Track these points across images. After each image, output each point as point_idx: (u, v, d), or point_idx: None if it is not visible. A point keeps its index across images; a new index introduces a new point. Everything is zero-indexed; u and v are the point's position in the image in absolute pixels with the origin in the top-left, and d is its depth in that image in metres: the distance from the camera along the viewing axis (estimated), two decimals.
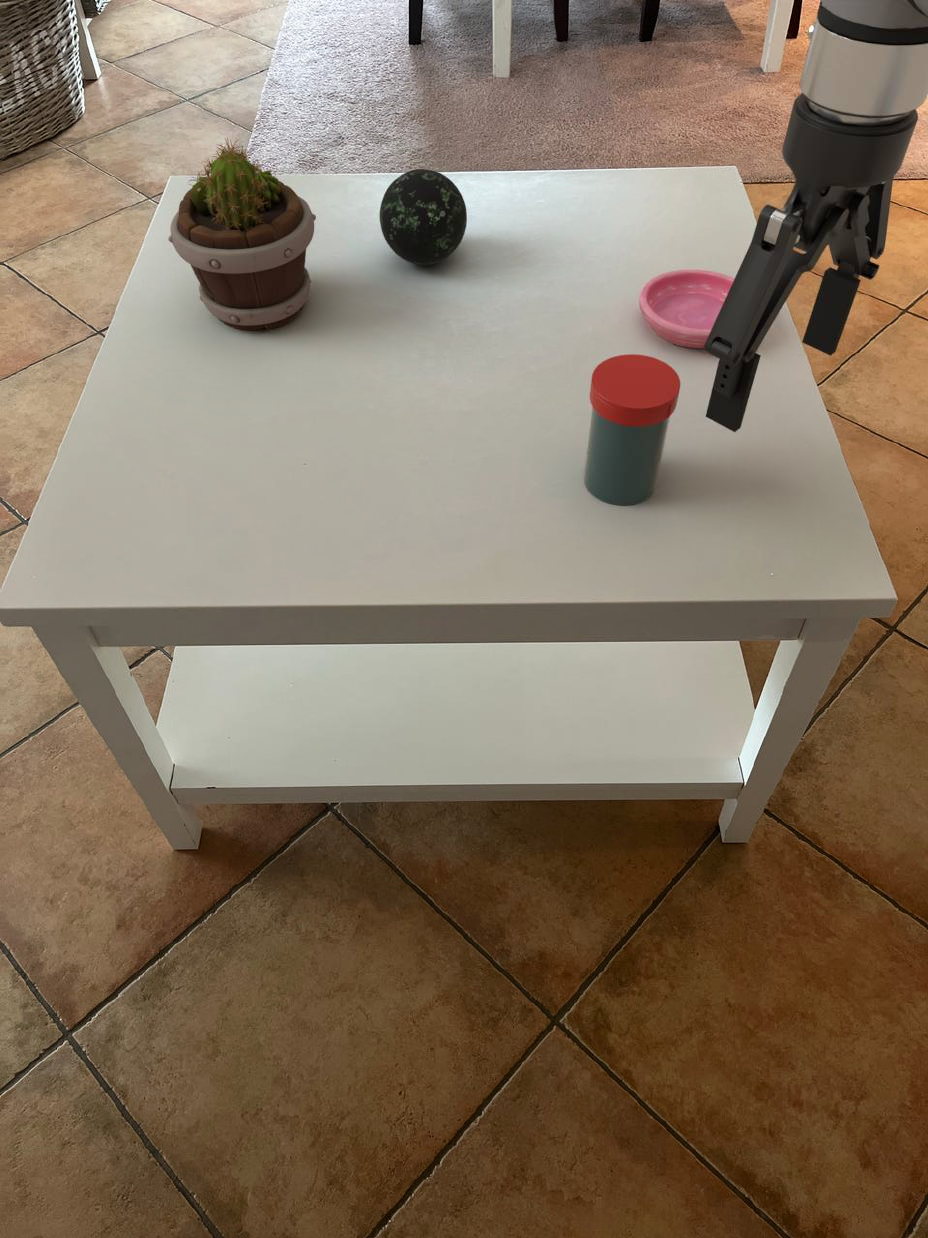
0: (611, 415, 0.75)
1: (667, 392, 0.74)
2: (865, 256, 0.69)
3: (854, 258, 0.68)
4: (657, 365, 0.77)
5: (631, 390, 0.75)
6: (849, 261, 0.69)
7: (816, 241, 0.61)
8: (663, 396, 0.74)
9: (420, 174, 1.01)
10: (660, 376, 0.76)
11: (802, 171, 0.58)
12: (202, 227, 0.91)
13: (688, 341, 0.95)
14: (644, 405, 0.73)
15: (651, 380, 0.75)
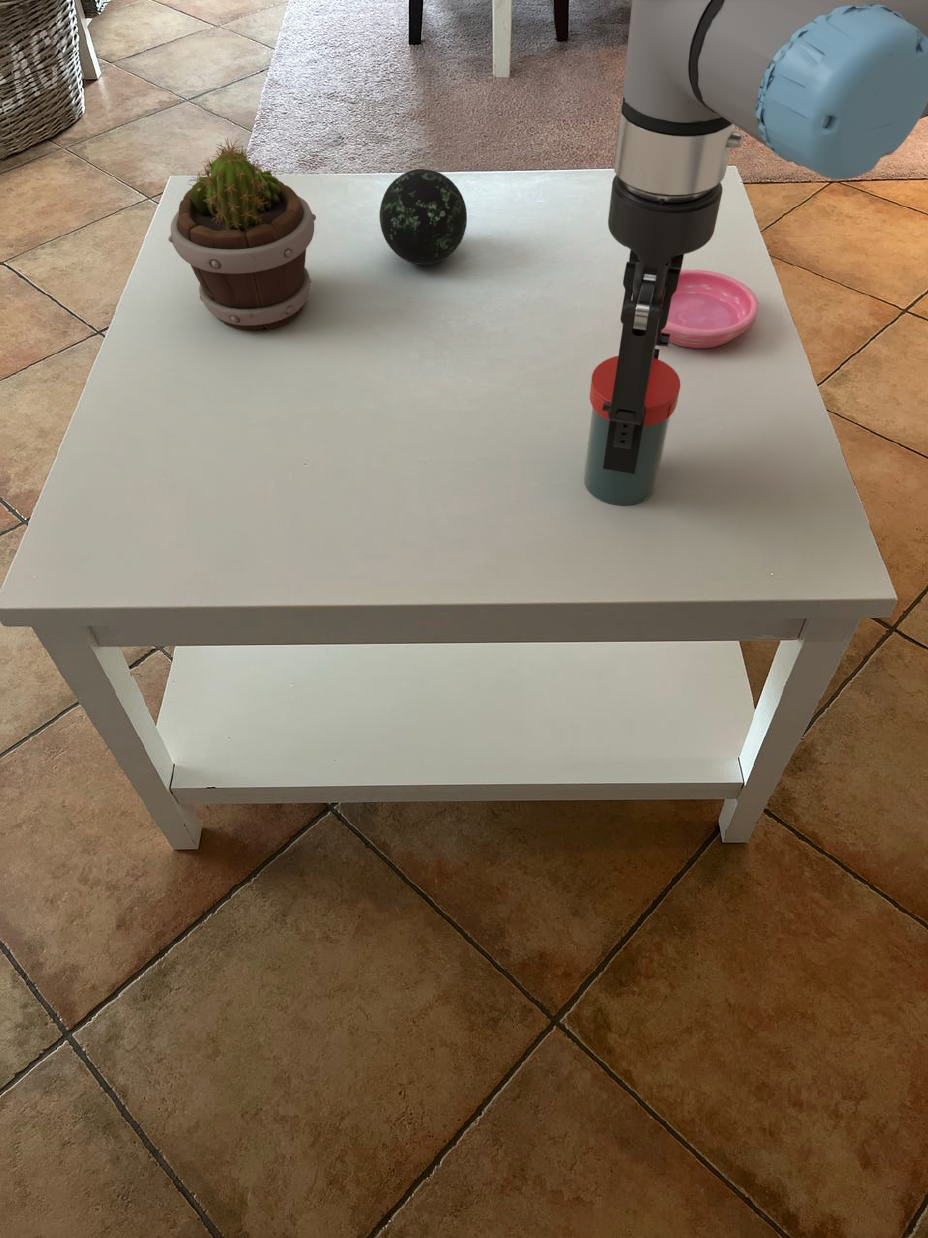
0: None
1: (667, 392, 0.74)
2: None
3: None
4: (657, 365, 0.77)
5: None
6: None
7: None
8: (663, 396, 0.74)
9: (420, 174, 1.01)
10: (660, 376, 0.76)
11: None
12: (202, 227, 0.91)
13: (688, 341, 0.95)
14: None
15: (651, 380, 0.75)
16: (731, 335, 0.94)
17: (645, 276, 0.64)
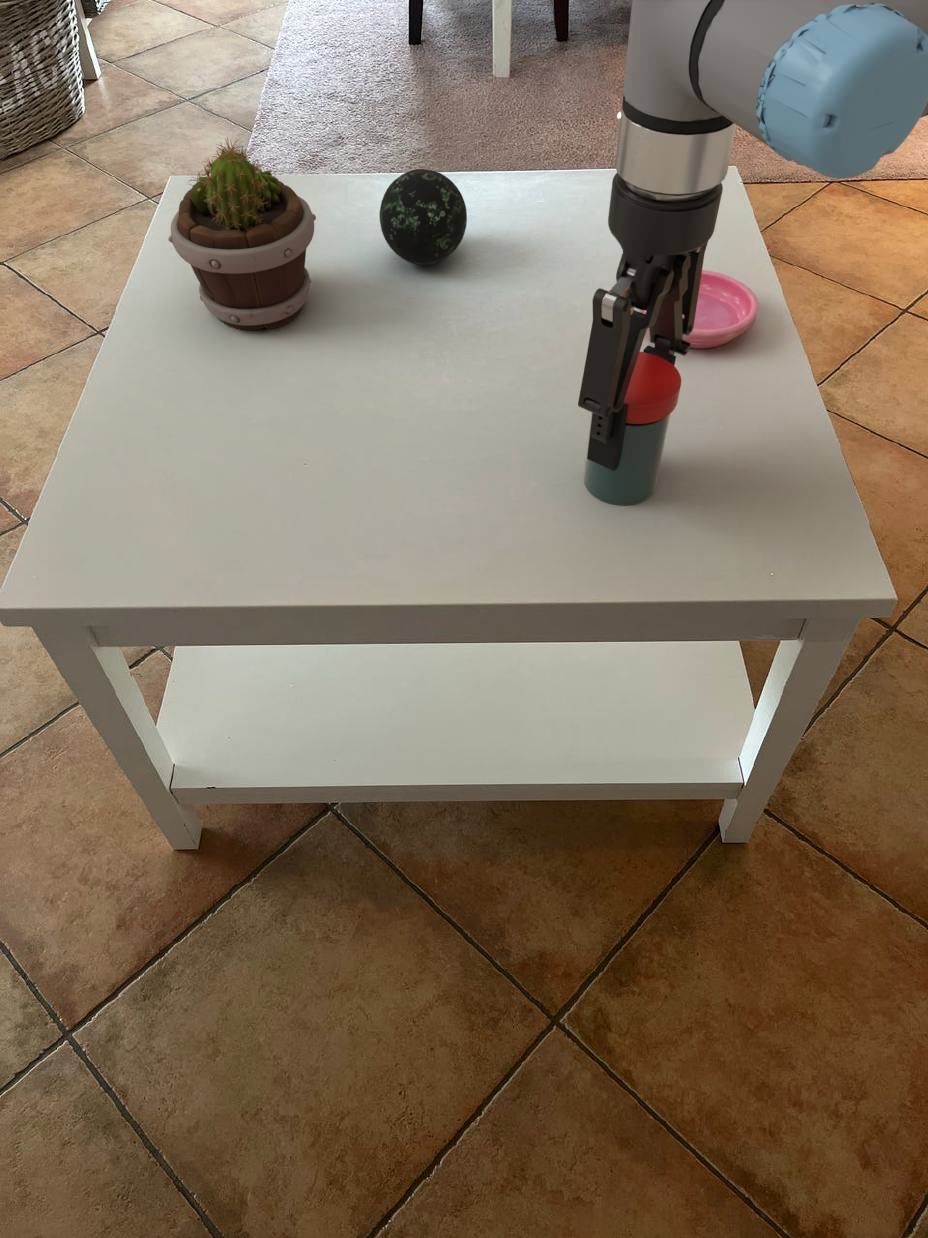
0: None
1: None
2: (680, 331, 0.75)
3: (671, 330, 0.74)
4: None
5: (647, 369, 0.76)
6: (666, 334, 0.75)
7: (650, 305, 0.67)
8: None
9: (420, 174, 1.01)
10: None
11: (627, 242, 0.63)
12: (202, 227, 0.91)
13: (688, 341, 0.95)
14: (643, 354, 0.77)
15: None
16: (731, 335, 0.94)
17: None
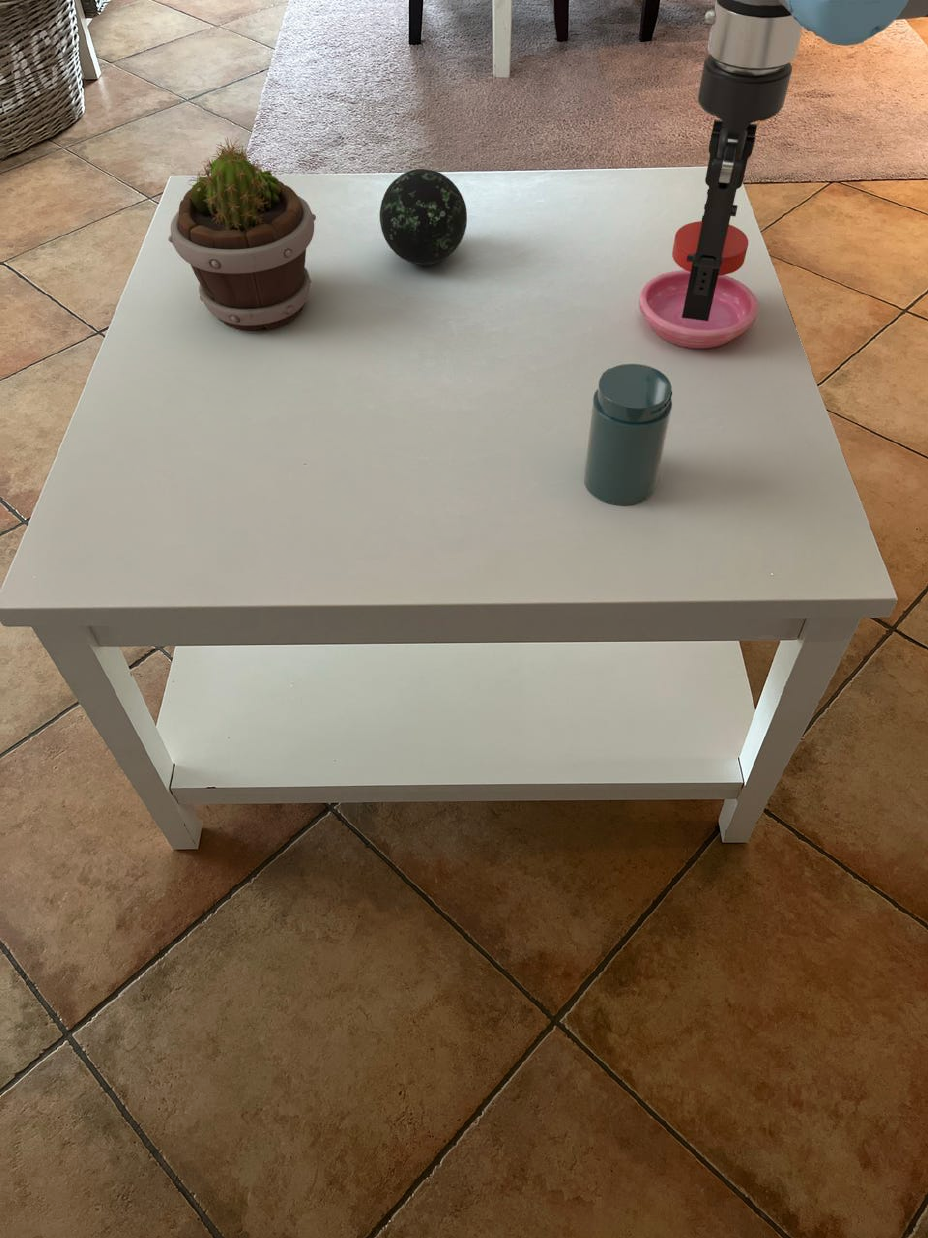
0: None
1: (685, 230, 0.93)
2: None
3: None
4: (694, 249, 0.91)
5: None
6: None
7: None
8: (688, 228, 0.93)
9: (420, 174, 1.01)
10: (691, 241, 0.92)
11: (730, 116, 0.79)
12: (202, 227, 0.91)
13: (688, 341, 0.95)
14: None
15: (698, 239, 0.92)
16: (731, 335, 0.94)
17: None
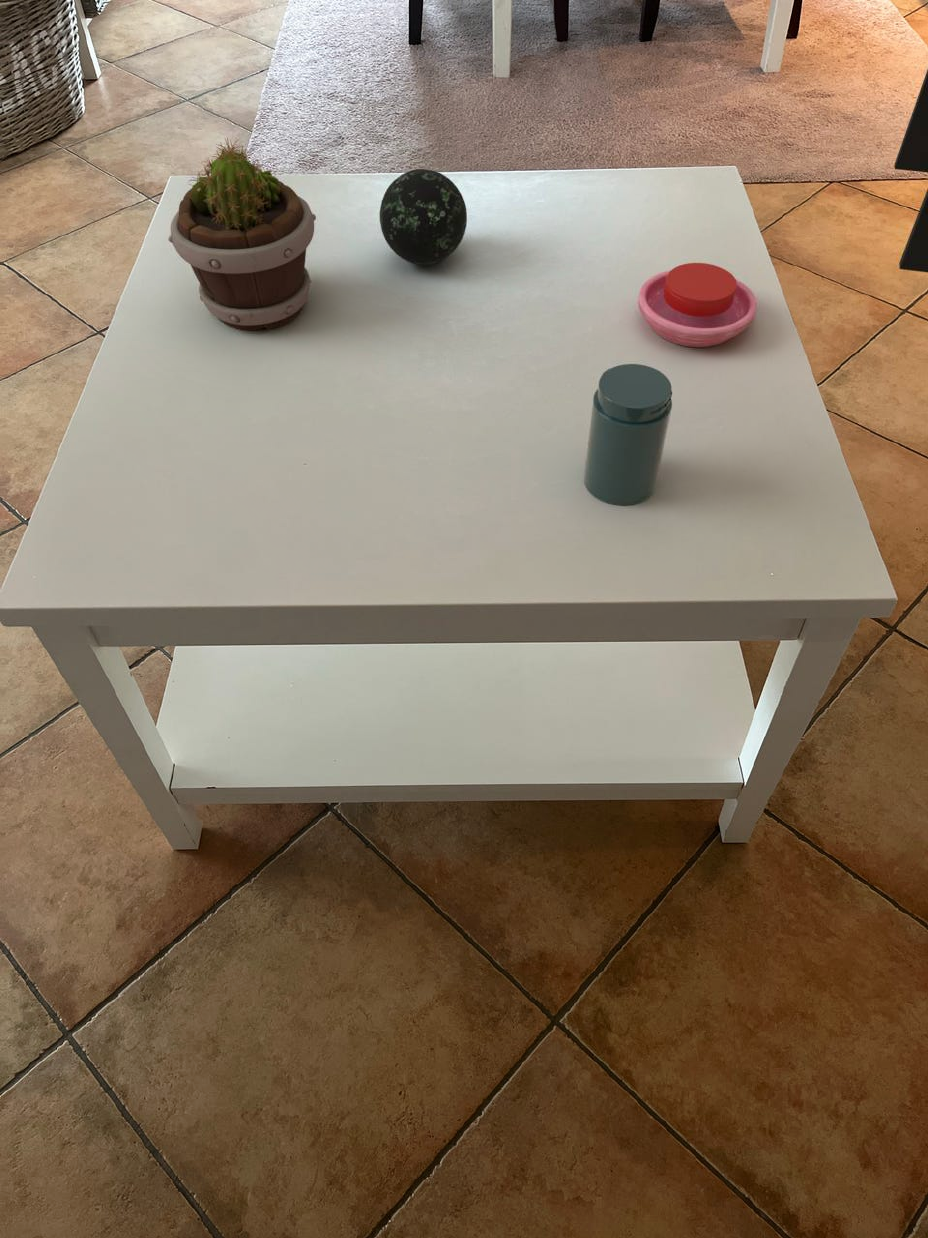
0: None
1: (676, 272, 0.97)
2: None
3: None
4: (684, 291, 0.94)
5: (704, 274, 0.96)
6: None
7: None
8: (679, 270, 0.97)
9: (420, 174, 1.01)
10: (682, 283, 0.95)
11: None
12: (202, 227, 0.91)
13: (687, 340, 0.95)
14: (693, 264, 0.98)
15: (689, 281, 0.96)
16: (730, 334, 0.94)
17: None
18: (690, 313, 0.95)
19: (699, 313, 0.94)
